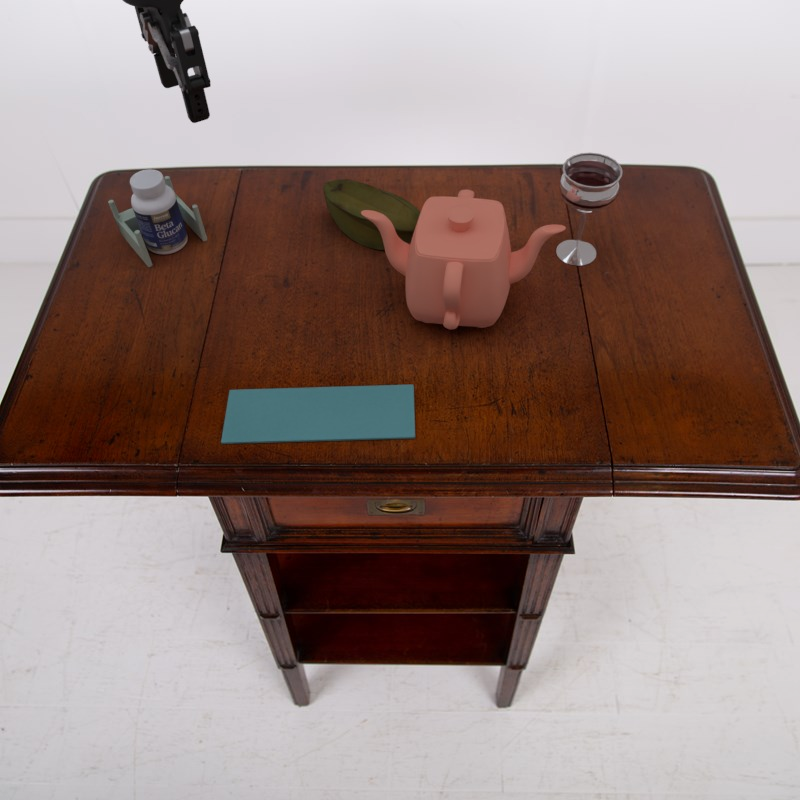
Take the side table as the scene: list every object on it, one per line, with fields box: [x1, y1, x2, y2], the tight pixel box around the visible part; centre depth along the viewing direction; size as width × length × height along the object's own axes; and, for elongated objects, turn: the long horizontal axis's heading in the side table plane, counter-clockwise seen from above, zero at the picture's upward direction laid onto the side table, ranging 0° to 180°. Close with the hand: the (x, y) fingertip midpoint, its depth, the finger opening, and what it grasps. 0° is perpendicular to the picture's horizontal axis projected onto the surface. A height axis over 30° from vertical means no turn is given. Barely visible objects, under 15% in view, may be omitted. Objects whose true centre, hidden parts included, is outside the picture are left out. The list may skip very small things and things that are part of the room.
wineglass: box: [555, 152, 623, 266], centre depth 90 cm, size 7×7×12 cm
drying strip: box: [220, 383, 416, 445], centre depth 80 cm, size 20×7×1 cm, turn 91°
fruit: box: [322, 178, 421, 251], centre depth 96 cm, size 11×12×7 cm
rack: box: [107, 175, 208, 268], centre depth 97 cm, size 8×8×5 cm
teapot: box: [361, 189, 566, 331], centre depth 85 cm, size 15×17×13 cm
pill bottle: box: [129, 168, 189, 255], centre depth 94 cm, size 5×5×10 cm
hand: (185, 102), depth 84 cm, fingers open, 8 cm apart
